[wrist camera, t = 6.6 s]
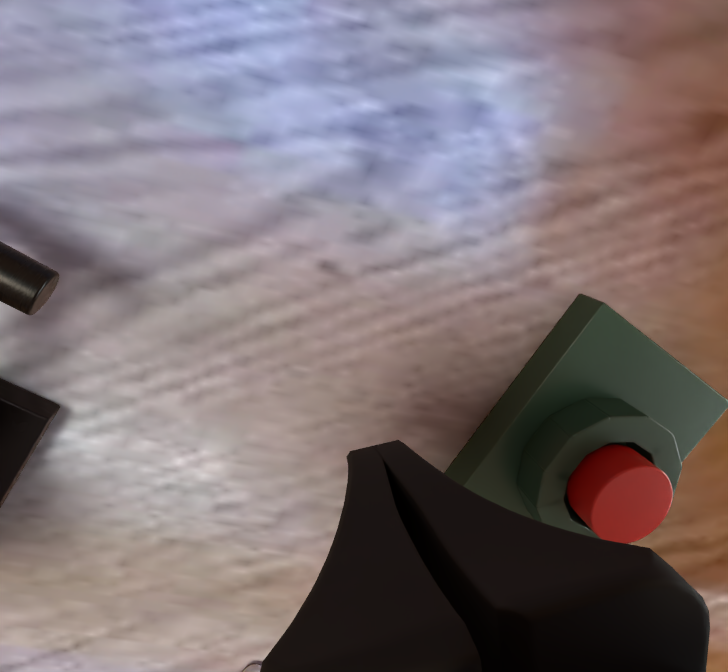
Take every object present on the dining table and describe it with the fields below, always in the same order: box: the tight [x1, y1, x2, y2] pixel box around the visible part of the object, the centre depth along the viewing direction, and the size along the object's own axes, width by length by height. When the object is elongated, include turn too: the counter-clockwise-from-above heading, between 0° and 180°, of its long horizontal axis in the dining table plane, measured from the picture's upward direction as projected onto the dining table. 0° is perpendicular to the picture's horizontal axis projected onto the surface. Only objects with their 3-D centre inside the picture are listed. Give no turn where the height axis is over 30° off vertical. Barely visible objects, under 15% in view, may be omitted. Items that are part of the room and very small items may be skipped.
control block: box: [444, 294, 728, 539], centre depth 23 cm, size 12×9×4 cm
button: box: [567, 444, 673, 544], centre depth 21 cm, size 4×4×2 cm
